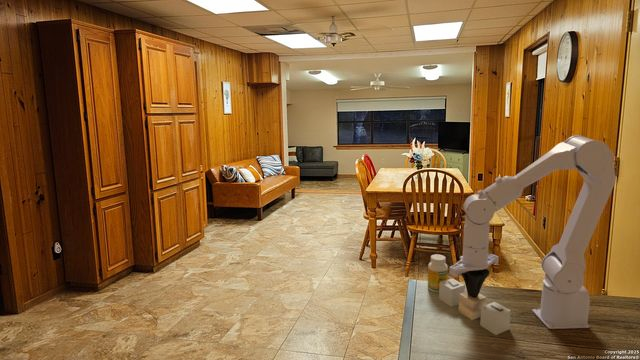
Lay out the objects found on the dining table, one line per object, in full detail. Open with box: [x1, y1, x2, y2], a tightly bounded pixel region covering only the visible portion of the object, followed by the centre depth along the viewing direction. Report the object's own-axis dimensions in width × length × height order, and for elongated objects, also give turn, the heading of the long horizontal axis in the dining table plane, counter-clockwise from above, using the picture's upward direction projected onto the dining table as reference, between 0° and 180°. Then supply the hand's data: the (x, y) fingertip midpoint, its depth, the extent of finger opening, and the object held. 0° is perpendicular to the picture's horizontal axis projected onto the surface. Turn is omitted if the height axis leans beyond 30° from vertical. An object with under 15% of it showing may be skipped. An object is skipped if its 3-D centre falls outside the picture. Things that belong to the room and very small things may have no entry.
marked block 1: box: [479, 301, 512, 336], centre depth 96 cm, size 4×4×5 cm
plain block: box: [457, 290, 487, 321], centre depth 102 cm, size 4×4×5 cm
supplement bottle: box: [427, 253, 449, 294], centre depth 114 cm, size 5×5×10 cm
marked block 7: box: [438, 277, 466, 307], centre depth 108 cm, size 4×4×5 cm
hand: (472, 295), depth 101 cm, fingers closed, pressing on plain block
